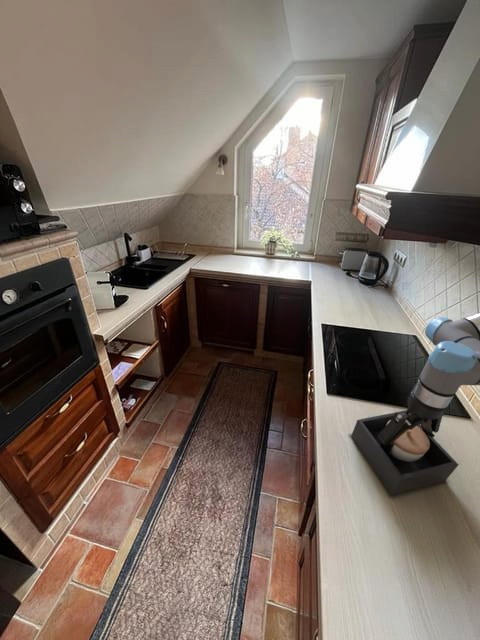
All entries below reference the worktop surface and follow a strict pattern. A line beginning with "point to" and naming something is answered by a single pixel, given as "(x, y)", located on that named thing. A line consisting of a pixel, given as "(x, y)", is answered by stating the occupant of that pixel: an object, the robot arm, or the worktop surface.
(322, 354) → the worktop surface
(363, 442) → the tray
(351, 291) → the worktop surface
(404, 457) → the trinket box
